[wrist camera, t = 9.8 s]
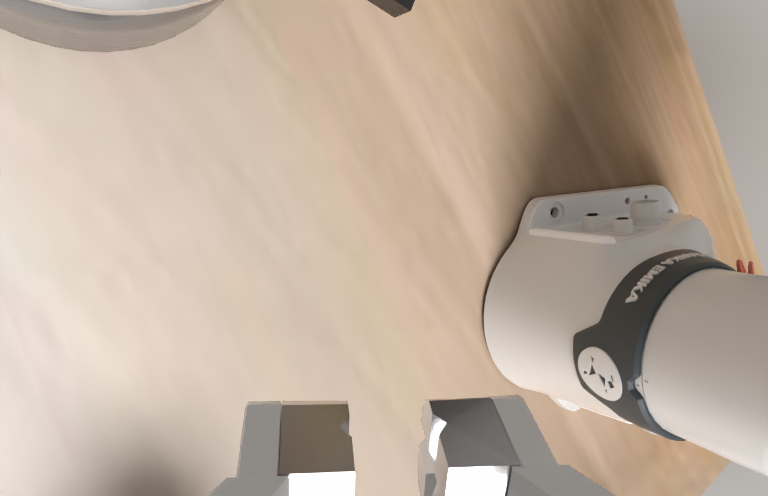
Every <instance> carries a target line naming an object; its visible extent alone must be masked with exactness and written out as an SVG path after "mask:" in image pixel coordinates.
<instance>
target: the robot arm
mask: <svg viewBox="0 0 768 496" xmlns="http://www.w3.org/2000/svg"><path fill="white" fill-rule="evenodd" d="M551 209H553V213H552V215H551V213H550V212H551ZM484 331H485V338H486V342H487V346H488V349H489V352H490V355H491V357H492V359H493V361H494V363H495V364H496V366H497V368H498V369H499V370H500V372H501V373H502V374H503V375H504V376H505V377H506V378H507V379H508V380H510V381H511V382H512V383H514V384H515V385H517V386H519V387H522V388H524V389H527V390H532V391H536V392H540V393H544V394H546V395H548V396H549V397H550V398H551V399H552V400H553V401H554V402H555V403H556V404H557V405H559V406H560V407H562V408H565V409H568V410H571V411H576V410H578V409H580V408H581V407H582V408H585V409H588V410H591V411H593V412H596V413H599V414H602V415H605V416H608V417H611V418H614V419H617V420H620V421H623V422H626V423H630V424H635V425H637V426H639V427H641V428H643V430H644V431H647V432H649V433H651V434H654V435H658V436H663V437H665V438H668V439H671V440H676V441H685V440H687V441H690V442H692V443H694V444H696V445H698V446H701V447H703V448H705V449H707V450H709V451H711V452H714V453H716V454H718V455H720V456H722V457H725V458H727V459H729V460H731V461H733V462H736V463H738V464H740V465H742V466H744V467H746V468H749V469H751V470H753V471H755V472H757V473H760V474H762V475H764V476H766V477H768V276H762V275H755V274H754V270H753V262H752V261H750V262H749V265H748V273H746V270H745V268H744V265H743V263H742V261H741V260H737V271H736V270H734V269H733V268H731V267H730V266H728V265H726V264H724V263H722V262H720V261H718V259H717V254H716V250H715V246H714V242H713V240H712V237H711V235H710V233H709V231H708V229H707V228H706V226H705V225H704V223H703V222H702V221H701V220H700V219H698V218H697V217H695V216H691V215H686V214H680V213H679V210H678V207H677V205H676V203H675V201H674V199H673V197H672V196H671V194H670V193H669V191H668V190H667V189H666V188H665V187H664V186H660V185H642V186H633V187H624V188H616V189H607V190H598V191H589V192H581V193H572V194H563V195H554V196H546V197H537V198H534V199H532V200H531V201H530V202H529V203H528V205H527V206H526V208H525V211H524V213H523V216H522V219H521V223H520V226H519V230H518V233H517V236H516V238H515V239H514V241H513V243H512V244H511V245H510V247H509V248H508V250H507V251H506V252H505V254H504V255H503V257H502V258H501V260H500V262H499V263H498V265H497V267H496V269H495V271H494V273H493V276H492V278H491V281H490V284H489V287H488V291H487V295H486V300H485V306H484ZM421 422H422V426H423V430H424V434H425V439H424V440H423V441H422V442H421V443H420V444H419V452H418V483H419V490H420V496H615V495H614V494H612V493H610V492H609V491H607V490H606V489H604V488H603V487H601V486H600V485H598V484H597V483H595V482H594V481H592V480H590V479H589V478H587V477H586V476H584V475H583V474H581V473H580V472H578V471H577V470H575V469H573V468H572V467H570V466H569V465H558V463H557V461H556V459H555V457H554V456H553V454H552V452H551V450H550V448H549V446H548V444H547V442H546V440H545V439H544V437H543V435H542V433H541V431H540V429H539V427H538V425H537V423H536V422H535V420H534V418H533V416H532V414H531V412H530V410H529V408H528V406H527V405H526V403H525V401H524V399H523V398H522V397H521V396H519V395H507V396H489V397H487V398H460V399H427V400H425V401H424V405H423V410H422V419H421ZM354 480H355V468H354V457H353V447H352V437H351V436H350V435H349V408H348V402H347V401H282V403H281V402H280V401H261V402H248V403H247V405H246V407H245V415H244V422H243V430H242V438H241V445H240V453H239V460H238V468H237V475H236V478H225V479H224V480H223V481H222V482H221V483H220V484H219V485H218V486H217V487H216V488H215V489H214V490H213V491H212V492H211V493H210V494H209V495H208V496H354Z"/></svg>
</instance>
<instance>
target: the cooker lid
mask: <svg viewBox="0 0 768 496" xmlns="http://www.w3.org/2000/svg"><path fill="white" fill-rule="evenodd" d="M29 1H33V2H37V3H41V4H45V5H49V6H53V7H57V8H61V9H65V10H69V11H77V12H85V13H93V14H101V15H150V14H158V13H165V12H173V11H179V10H182V9H186V8H189V7H193V6H197V5H200V4H204V3H207V2H210V1H212V0H29Z"/></svg>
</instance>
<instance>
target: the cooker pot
mask: <svg viewBox="0 0 768 496" xmlns="http://www.w3.org/2000/svg"><path fill="white" fill-rule="evenodd" d="M222 1H223V0H212V1H210V2H207V3H204V4H200V5H197V6H193V7H189V8H186V9H182V10H179V11H173V12H165V13H158V14H150V15H101V14H93V13H85V12H77V11H69V10H65V9H61V8H57V7H53V6H49V5H45V4H41V3H37V2H33V1H29V0H0V28H1V29H4V30H6V31H9V32H11V33H14V34H16V35H19V36H21V37H24V38H26V39H29V40H32V41H36V42H39V43H43V44H47V45H50V46H54V47H59V48H65V49H72V50H78V51H95V52H112V51H122V50H132V49H136V48H141V47H145V46H149V45H154V44H156V43H159V42H162V41H164V40H167V39H170V38H172V37H175V36H177V35H178V34H180V33H182V32H184V31H186V30H187V29H189V28H191V27H193V26H194V25H195V24H197V23H198V22H199V21H201V20H202V19H203V18H205V17H206V16H207V15H208V14H210V13H211V12H212V11H213V10H214V9H215V8H216V7H217V6H218V5H219V4H220V3H221V2H222ZM368 1H369V2H371V3H373V4H374V5H376V6H377V7H379V8H380V9H382V10H384V11H385V12H387V13H388V14H390V15H391V16H393V17H397V16H399V15H402V14H404V13H407V12H409V11H411V9H412V6H413V4H414V1H415V0H368Z"/></svg>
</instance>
